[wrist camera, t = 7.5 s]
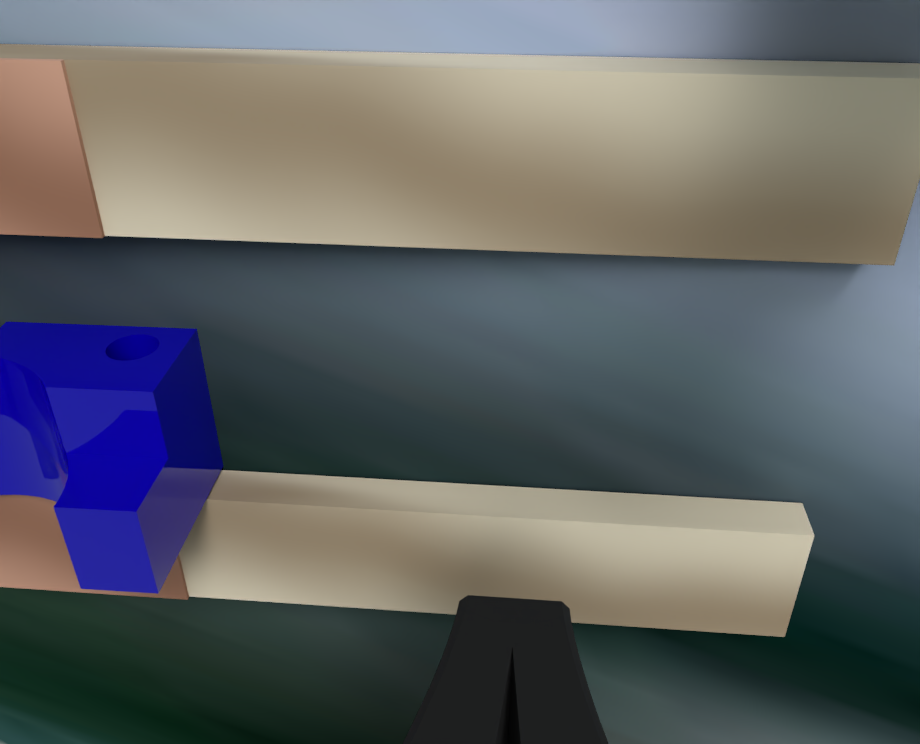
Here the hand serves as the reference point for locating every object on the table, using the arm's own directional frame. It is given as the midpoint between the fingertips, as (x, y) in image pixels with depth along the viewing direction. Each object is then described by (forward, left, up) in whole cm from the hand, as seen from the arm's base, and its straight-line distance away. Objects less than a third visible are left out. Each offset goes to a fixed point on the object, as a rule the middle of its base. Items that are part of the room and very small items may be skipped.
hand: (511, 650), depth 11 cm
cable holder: (-1, +11, -7) cm, 13 cm away
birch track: (0, +5, -7) cm, 9 cm away
